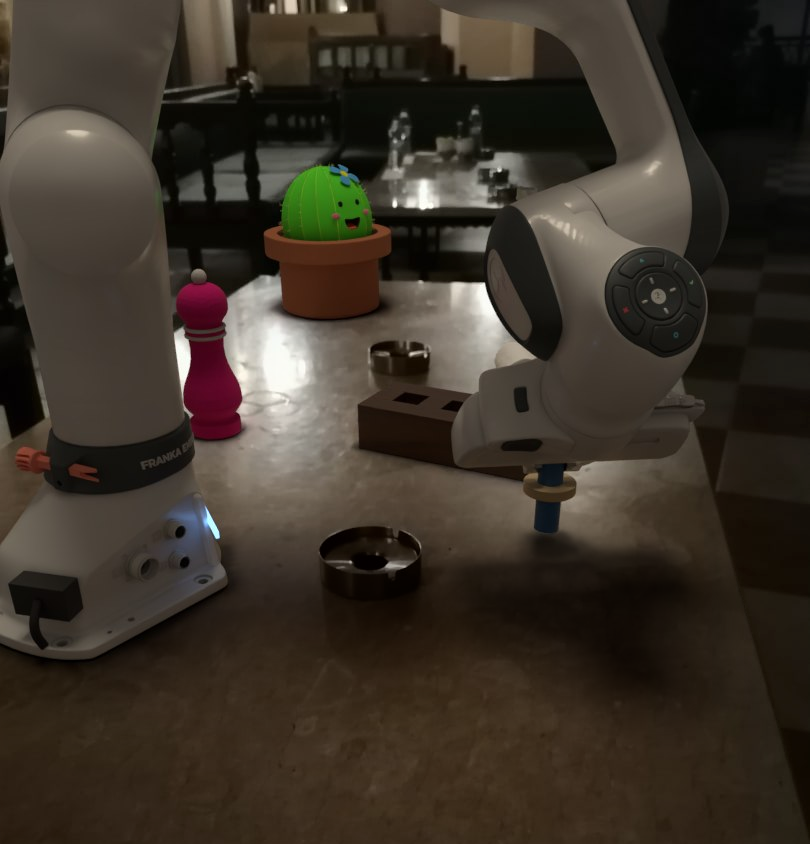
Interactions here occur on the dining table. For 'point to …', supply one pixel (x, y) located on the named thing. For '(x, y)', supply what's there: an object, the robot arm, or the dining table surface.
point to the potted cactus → (328, 246)
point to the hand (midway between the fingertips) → (549, 465)
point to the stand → (417, 425)
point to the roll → (512, 355)
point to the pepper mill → (208, 361)
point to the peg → (549, 495)
